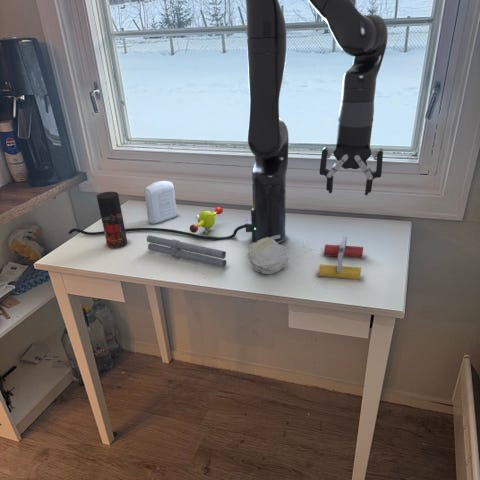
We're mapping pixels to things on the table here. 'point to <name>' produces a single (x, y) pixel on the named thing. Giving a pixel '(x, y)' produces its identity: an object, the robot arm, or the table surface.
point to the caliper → (341, 254)
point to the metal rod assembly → (179, 248)
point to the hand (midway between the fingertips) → (348, 193)
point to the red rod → (349, 251)
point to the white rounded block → (160, 201)
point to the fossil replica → (267, 256)
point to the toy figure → (206, 220)
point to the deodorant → (112, 219)
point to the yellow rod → (345, 273)
